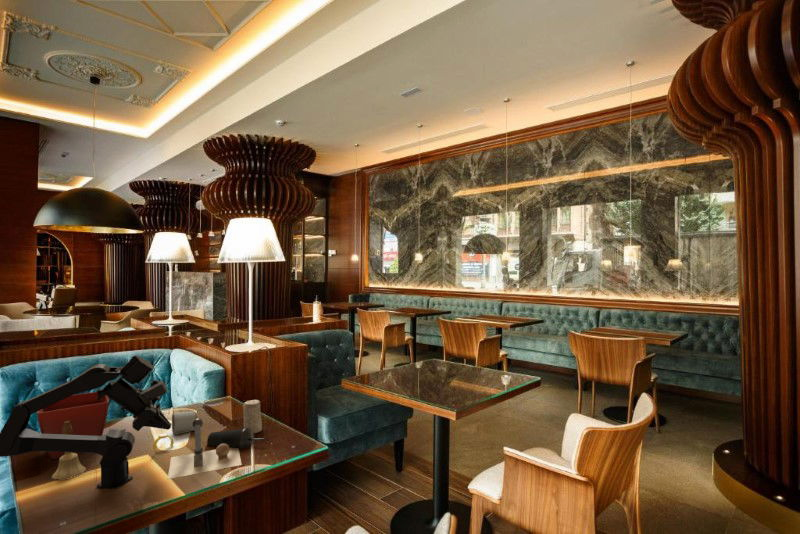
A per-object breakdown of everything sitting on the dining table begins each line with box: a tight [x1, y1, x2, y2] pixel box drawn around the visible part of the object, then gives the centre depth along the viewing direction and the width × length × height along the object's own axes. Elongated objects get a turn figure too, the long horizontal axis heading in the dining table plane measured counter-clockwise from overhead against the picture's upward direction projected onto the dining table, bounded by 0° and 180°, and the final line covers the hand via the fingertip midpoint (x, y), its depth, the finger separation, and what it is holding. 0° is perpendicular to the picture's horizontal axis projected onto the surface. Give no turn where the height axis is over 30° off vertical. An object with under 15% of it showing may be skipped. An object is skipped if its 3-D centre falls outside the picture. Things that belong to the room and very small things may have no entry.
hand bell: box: [51, 421, 87, 480], centre depth 134 cm, size 8×8×16 cm
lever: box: [192, 417, 204, 454], centre depth 136 cm, size 3×4×12 cm
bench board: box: [167, 445, 242, 480], centre depth 137 cm, size 20×16×5 cm
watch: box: [152, 433, 174, 452], centre depth 148 cm, size 6×3×6 cm, turn 139°
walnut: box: [215, 443, 229, 460], centre depth 139 cm, size 4×4×4 cm
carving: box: [242, 399, 263, 434], centre depth 162 cm, size 6×8×12 cm
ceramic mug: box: [171, 410, 198, 436], centre depth 167 cm, size 11×8×8 cm
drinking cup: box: [206, 428, 265, 450], centre depth 149 cm, size 8×8×20 cm
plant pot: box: [36, 391, 110, 460], centre depth 152 cm, size 19×19×17 cm
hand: (170, 427), depth 133 cm, fingers closed
